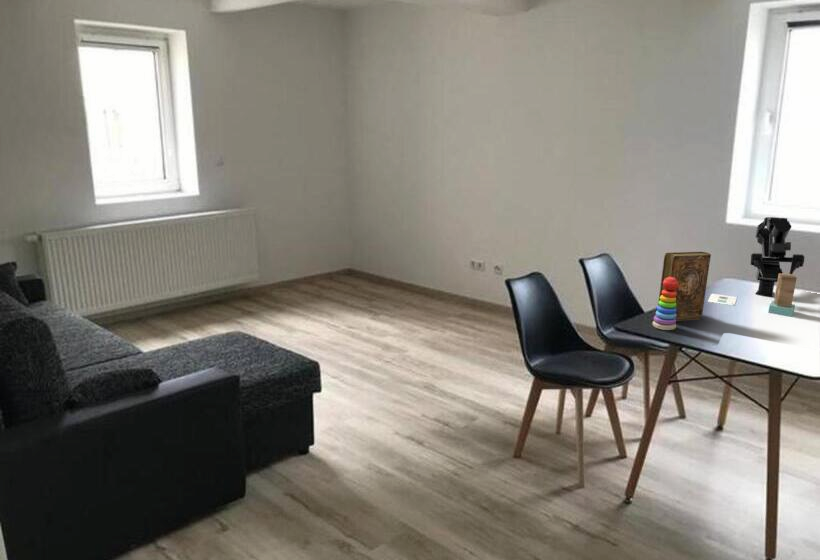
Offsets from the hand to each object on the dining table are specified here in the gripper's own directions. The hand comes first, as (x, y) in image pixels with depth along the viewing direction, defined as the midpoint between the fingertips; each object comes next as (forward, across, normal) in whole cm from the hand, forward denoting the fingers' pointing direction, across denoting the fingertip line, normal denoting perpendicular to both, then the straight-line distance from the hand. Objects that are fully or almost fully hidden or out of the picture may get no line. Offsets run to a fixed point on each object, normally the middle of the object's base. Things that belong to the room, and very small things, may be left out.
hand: (776, 278), depth 261 cm
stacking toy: (+39, -38, -32) cm, 63 cm away
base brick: (+14, +2, +2) cm, 14 cm away
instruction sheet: (+8, -19, +6) cm, 21 cm away
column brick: (+12, +2, 0) cm, 12 cm away
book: (+30, -33, -21) cm, 49 cm away
